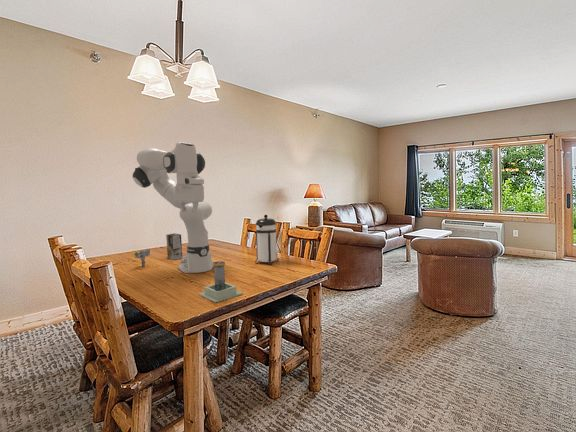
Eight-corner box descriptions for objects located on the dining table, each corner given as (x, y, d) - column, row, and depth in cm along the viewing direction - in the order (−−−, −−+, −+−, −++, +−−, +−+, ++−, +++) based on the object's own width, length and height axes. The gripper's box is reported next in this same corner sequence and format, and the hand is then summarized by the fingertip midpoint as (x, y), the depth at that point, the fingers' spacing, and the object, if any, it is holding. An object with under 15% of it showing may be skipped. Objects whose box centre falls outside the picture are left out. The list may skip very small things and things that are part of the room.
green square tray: (198, 294, 138) (198, 287, 138) (225, 287, 148) (224, 279, 148) (215, 303, 128) (215, 294, 128) (242, 294, 138) (242, 286, 138)
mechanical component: (134, 268, 183) (133, 252, 182) (148, 264, 192) (147, 248, 191) (138, 269, 182) (137, 252, 180) (152, 264, 191) (151, 249, 190)
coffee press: (283, 264, 188) (282, 215, 185) (257, 266, 184) (256, 216, 181) (276, 257, 205) (275, 212, 202) (252, 259, 200) (250, 213, 197)
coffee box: (182, 258, 207) (181, 234, 205) (173, 260, 202) (172, 235, 201) (176, 256, 213) (175, 233, 212) (167, 257, 209) (165, 234, 207)
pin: (212, 293, 138) (210, 262, 136) (222, 290, 142) (220, 260, 140) (218, 296, 134) (217, 264, 133) (228, 293, 138) (227, 262, 136)
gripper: (170, 180, 139) (171, 211, 141) (192, 179, 125) (193, 213, 126) (183, 180, 144) (184, 210, 145) (206, 179, 129) (207, 212, 131)
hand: (189, 211), depth 136 cm, fingers open, 8 cm apart
